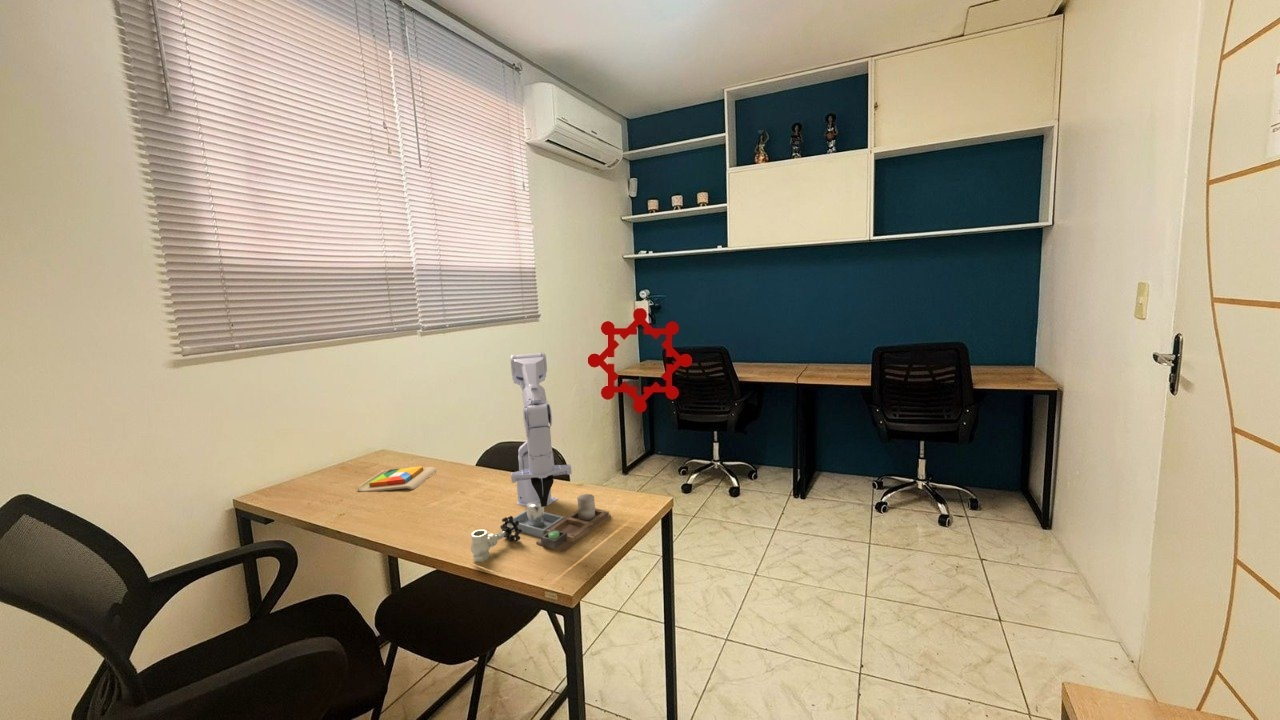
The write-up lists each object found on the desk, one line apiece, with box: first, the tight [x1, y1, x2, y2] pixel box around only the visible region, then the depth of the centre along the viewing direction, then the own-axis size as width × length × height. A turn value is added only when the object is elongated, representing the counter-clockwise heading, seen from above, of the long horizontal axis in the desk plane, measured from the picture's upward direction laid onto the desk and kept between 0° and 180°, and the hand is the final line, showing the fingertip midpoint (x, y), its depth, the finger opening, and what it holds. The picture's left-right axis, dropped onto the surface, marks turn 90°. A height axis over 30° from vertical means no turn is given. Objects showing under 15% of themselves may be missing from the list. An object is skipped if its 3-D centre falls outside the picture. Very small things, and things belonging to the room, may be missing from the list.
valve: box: [470, 515, 523, 563], centre depth 115 cm, size 7×7×12 cm
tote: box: [507, 509, 565, 539], centre depth 126 cm, size 12×8×2 cm
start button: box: [548, 531, 559, 540], centre depth 116 cm, size 3×3×2 cm
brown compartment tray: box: [535, 493, 612, 553], centre depth 123 cm, size 8×20×7 cm, turn 150°
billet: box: [525, 501, 545, 529], centre depth 126 cm, size 4×4×6 cm
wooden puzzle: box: [357, 465, 437, 493], centre depth 165 cm, size 18×19×4 cm
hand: (543, 505), depth 120 cm, fingers closed
